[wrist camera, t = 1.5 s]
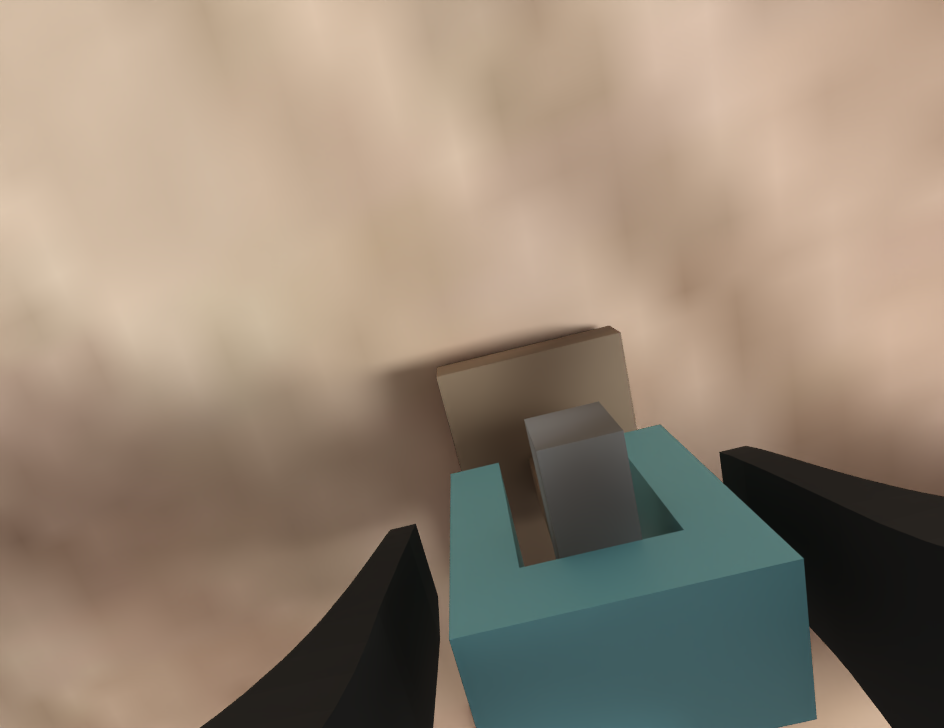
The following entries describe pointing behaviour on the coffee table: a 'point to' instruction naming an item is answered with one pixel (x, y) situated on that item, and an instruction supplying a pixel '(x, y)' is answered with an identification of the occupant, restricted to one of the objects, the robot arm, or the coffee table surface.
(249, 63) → the coffee table surface
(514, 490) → the stand
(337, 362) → the coffee table surface
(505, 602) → the teal notched block
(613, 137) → the coffee table surface
